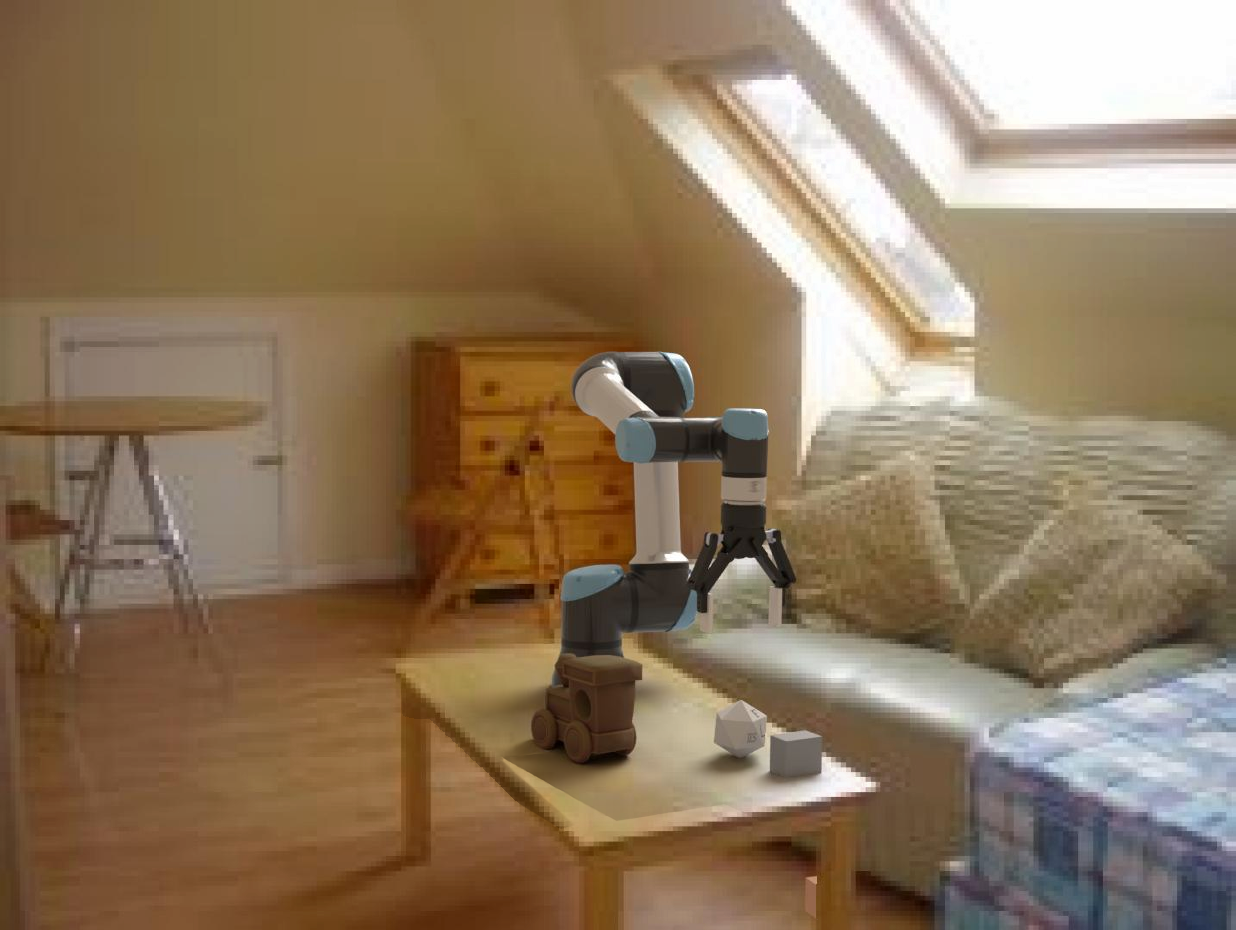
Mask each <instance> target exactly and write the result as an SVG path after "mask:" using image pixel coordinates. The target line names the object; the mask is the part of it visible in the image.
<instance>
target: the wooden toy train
mask: <svg viewBox="0 0 1236 930" xmlns="http://www.w3.org/2000/svg"><path fill="white" fill-rule="evenodd" d="M558 657H559V656H558ZM556 660H557V661H556V662H555V663H554V669H556V671H557V673H558V675H559V678H560V680H561V682H562V684H563V685H557V686H553V687H552V686H551V687H548V688H546V691H545V701H544V702H545V705H544V708H540V709H538V710H536V711H535V712H534V714H533V715H532V719H531V723H530V731H531V732H530V733H531V736H532V738H533V741H534V743H535V744H536V746H538V747H539V748H542V749H544V750H550V749H552V748H554V747H555V744H556V743H557V741H561V742H563V744H564V749H565V751H566V754H567V756H568V757H569V758H570V760H571V761H572V762H574V763H576V764H583V763H585V762H587V761H588V760H589V758H590V757H591V755H592V754H594V755H601V754H606V753H612V752H614V753H616V754H618V755H619V756H624V757H626V756H628V755H630V754H631V753H633V751H634V749H635V747H636V744H637V730H636V726H635V725H634V722H633V718H634V713H635V712H634V711H635V703H636V702H635V701H636V700H635V699H636V682H637V681H643V664H642V663H640V662H638V661H636V660H633V659H629V658H626V657H624V658H623V657H619V656H612V655H594V656H586V657H578V658H577V657H576V656H575V654H570V653H566V654H561V655H560V657H559V659H558V658H557V659H556Z"/></svg>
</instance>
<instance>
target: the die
mask: <svg viewBox="0 0 1236 930" xmlns="http://www.w3.org/2000/svg"><path fill="white" fill-rule="evenodd" d="M767 719H768V715H766V714H765V713H763V712H762V711H760V710H759V709H757V708H755V707H753V706H752V705H750V704H749V703H747V702H746V701H745V700H742V699H740V700H738V701H736V702H733V703H732V704H730V705H728V706H726V707H724V708H723V709H720V710H719V711H717V712H716V718H715V726H714V737H713V743H714V744H715V745H717V746H719V747H720V748H722V749H724V750H725V751H727V752H728V753H730V754H731V755H733V756H735V757H737V758H739V759H742V758H744V757H746V756H749V754H752V753H754V752H756V751H757V750H759V749H762V748H763V747H765V743H766V732H767V721H768V720H767Z"/></svg>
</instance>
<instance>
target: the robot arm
mask: <svg viewBox="0 0 1236 930" xmlns="http://www.w3.org/2000/svg"><path fill="white" fill-rule="evenodd" d="M694 386H695V384H694V378H693V374H692V371H691V369H690V366H689V364H688V363H687V361H686V359H685V358H684V357H683V356H682V355H680V354H678V353H674V352H673V353H672V352H662V351H605V352H599V353H597V354H594V355H592V356H590V357H588V358H587V359H585V360H584V361H583V362H582V363H581V364H580V365H579V366H578V367H577V368H576V370H575V371H574V373H573V376H572V378H571V382H570V393H571V397H572V399H573V401H574V403H575V404H576V406H577V407H578V408H579V409H580V410H581V411H582V412H583V413H585V414H586V415H588V416H590V417H596V418H597V419H598V420H599V421H601V422H602V424H604V426H605V427H607V429H609V430H610V431H611V432H612V433H613V435H615V438H614V440H615V449H616V452H617V455H618V457H619V459H620V460H621V461H623V462H626V463H633V478H634V479H633V481H634V482H633V483H634V486H633V487H634V509H635V512H634V513H635V514H634V516H635V541H636V543H635V544H636V552H635V554H634V555H635V556H633V557H632V558H631V560H630V561H629V562H628V567H629V568H628V569H629V571H626V572H625V571H624V570H623V567H622V566H621V565H620V564H612V563H611V564H610V563H609V564H596V565H589V566H583V567H579V568H575V569H573V570H570V571H568V572H567V573H566V574H565V575H564V576H563V577H562V583H561V592H560V596H559V598H560V601H561V602H560V603H561V605H560V606H561V607H560V608H561V609H560V610H561V611H560V613H561V615H560V616H561V617H560V620H561V623H560V624H561V625H560V629H561V630H560V631H561V632H560V634H561V635H560V639H561V642H560V650H559V651H560V652H559V654H558V658H557V660H558V659H559V657H560V655H561V654H566V653H570V654H575V656H576V657H577V658H578V657H586V656H594V655H612V656H619V657H623V658H625V655H624V652H623V634H635V633H655V632H656V633H658V632H659V633H660V632H665V633H670V632H671V633H672V632H674V631H682V630H686V629H688V628H690V627H691V626H692V625H693V623H694V622H695V620H696V618H697V616H698V613H699V614H700V615H699V616H700V617H699V619H700V620H699V621H700V622H699V627H700V628H699V631H700V632H703V633H705V634H709V635H710V634H714V593H710V591H711V590H712V589H713V587H714V586H715V584H716V583H717V582H718V580H719V578H721V576H722V574H723V573H725V572H724V571H725V570H726V569H727V567H728V566H729V564H730V563H733V562H734V560H741V559H742V560H743V559H745V558H748V559H755V561H756V562H757V563H758V564H759V567H760V568H761V569H762V571H763V572H764V573H765V575H766V576H767V577H768V578H769V580H770V581H771V583H772V584H773V586H769V587H768V589H769V590H768V625H769V626H772V627H775V628H781V627H782V619H783V618H782V614H783V613H782V612H783V611H782V610H783V609H782V608H783V607H785V606H786V605H785V604H786V593H787V592H786V591H787V590H786V589H789V588H790V587H791V584H795V583H796V581H797V576H796V574H795V572H794V570H793V568H792V564H791V562H790V559H789V557H788V554H787V552H786V549H785V547H784V545H783V542H782V541H783V540H782V532H781V530H780V529H775V528H772V527H771V528H767V530H765V529H766V528H765V526H766V524H767V505H766V503H764V502H765V501H766V500H767V496H768V495H767V494H768V493H767V490H768V489H767V487H768V457H769V456H768V451H769V434H770V429H769V419H768V416H769V415H768V413H767V411H765V410H764V409H763V408H762V409H761V408H737V407H736V408H727V409H725V410H724V412H723V414H722V416H721V415H719V416H714V415H713V416H709V417H685V413H687V412H689V411H691V409H692V408H693V405H694V398H695V387H694ZM707 462H708V463H709V462H710V463H712V462H713V463H716V462H717V463H721V482H720V483H721V484H720V485H721V487H720V499H721V500H723V501H724V502H722V503H721V504H720V524H721V531H720V533H714V532H709V531H706V532H705V533H704V535H703V543H702V547H701V550H700V552H699V554H698V557H697V559H696V561H695V563H694V565H693V568H692V569H691V568H690V560H689V559H688V558H687V556H685V555H684V554H683V553H682V551H681V548H682V547H681V546H682V545H681V522H680V492H679V491H680V490H679V489H680V488H679V487H680V486H679V464H678V463H707ZM765 541H766V542H767V543H768V547H769V549H770V552H771V555H772V557H773V559H774V560H772V559H771V558H770V556H769V553H768V551H766V549H765V547H764V546H763V545H764V543H765ZM720 545H722V546H721V548H720V549H719V551H718V552H717V550H718V547H719V546H720ZM716 552H717V553H716ZM715 555H716V558H715V559H714V557H715ZM773 561H774V562H775V564H776V565H775V564H774V562H773ZM557 685H563V684H562V682H561V680H560V678H559V675H558V673H557V671H556V669H555V668H554V670H553V673H552V677H551V687H553V686H557Z"/></svg>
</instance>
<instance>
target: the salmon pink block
mask: <svg viewBox="0 0 1236 930" xmlns="http://www.w3.org/2000/svg"><path fill="white" fill-rule="evenodd" d="M817 876H818V875H815V876H806V877H805V895H804V897H805V900H804V901H805V904H804V905H805V906H804V909H805V912H806V913H807V914H809V915H810V916H811V917H813V918H815V919H816V884H817Z"/></svg>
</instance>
